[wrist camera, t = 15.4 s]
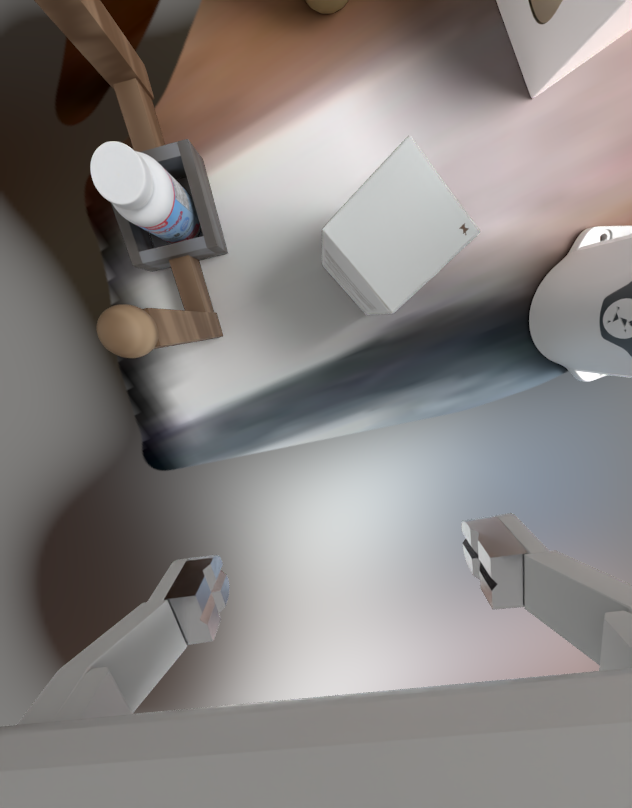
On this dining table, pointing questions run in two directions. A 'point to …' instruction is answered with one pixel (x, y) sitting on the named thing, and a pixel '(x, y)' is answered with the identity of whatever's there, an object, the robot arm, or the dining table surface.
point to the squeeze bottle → (326, 5)
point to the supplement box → (395, 232)
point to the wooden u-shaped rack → (125, 72)
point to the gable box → (561, 34)
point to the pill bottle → (144, 192)
